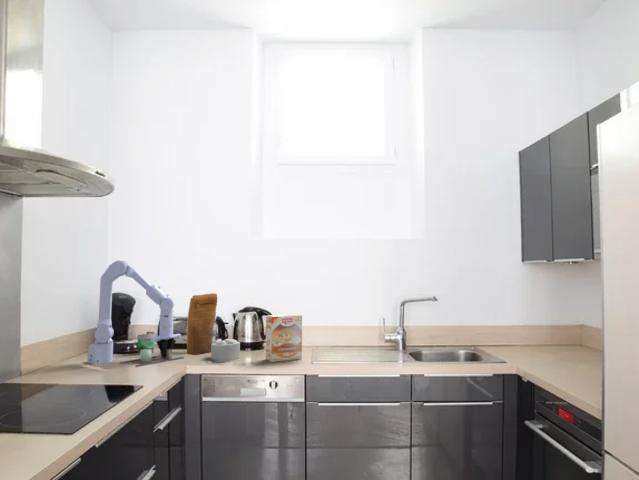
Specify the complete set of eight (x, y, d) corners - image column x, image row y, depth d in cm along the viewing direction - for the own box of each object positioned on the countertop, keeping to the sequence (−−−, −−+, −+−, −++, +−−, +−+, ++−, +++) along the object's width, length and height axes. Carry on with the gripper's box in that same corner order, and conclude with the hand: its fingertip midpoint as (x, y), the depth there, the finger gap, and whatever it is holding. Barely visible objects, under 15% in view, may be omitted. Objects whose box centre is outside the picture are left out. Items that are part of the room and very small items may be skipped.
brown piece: (143, 366, 203) (144, 354, 204) (131, 364, 209) (131, 352, 209) (174, 361, 215) (174, 349, 216) (161, 358, 221) (161, 347, 221)
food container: (150, 357, 226) (150, 335, 226) (136, 357, 226) (137, 335, 226) (159, 352, 238) (159, 331, 239) (146, 352, 238) (147, 331, 239)
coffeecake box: (271, 362, 214) (271, 316, 215) (265, 359, 221) (265, 315, 222) (302, 359, 221) (302, 314, 222) (295, 356, 228) (295, 313, 229)
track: (137, 369, 199) (137, 365, 199) (120, 365, 206) (120, 361, 206) (184, 360, 218) (184, 356, 218) (166, 357, 225) (166, 354, 225)
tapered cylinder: (144, 363, 206) (144, 351, 206) (138, 362, 209) (138, 350, 209) (153, 361, 210) (153, 349, 210) (147, 360, 212) (147, 348, 213)
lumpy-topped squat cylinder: (243, 358, 223) (243, 338, 224) (222, 363, 212) (222, 342, 213) (226, 356, 229) (226, 337, 229) (205, 360, 218) (205, 340, 218)
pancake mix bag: (221, 350, 243) (221, 293, 244) (190, 356, 227) (191, 295, 229) (211, 349, 247) (212, 292, 248) (180, 355, 231) (181, 294, 233)
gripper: (157, 327, 210) (157, 360, 209) (185, 324, 221) (185, 355, 221) (147, 326, 214) (147, 358, 213) (175, 323, 226) (175, 353, 225)
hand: (165, 356), depth 217 cm, fingers closed on brown piece, 2 cm apart
